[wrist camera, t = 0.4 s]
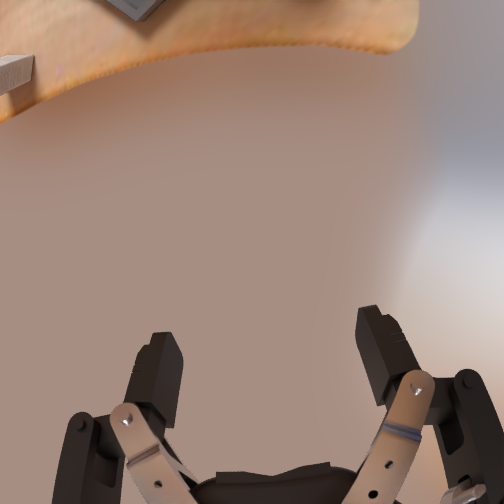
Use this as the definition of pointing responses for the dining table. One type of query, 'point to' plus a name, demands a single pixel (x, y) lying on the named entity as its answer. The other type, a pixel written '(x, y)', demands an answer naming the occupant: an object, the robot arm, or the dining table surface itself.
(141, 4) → the parts tray
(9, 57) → the skincare box
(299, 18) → the dining table surface
